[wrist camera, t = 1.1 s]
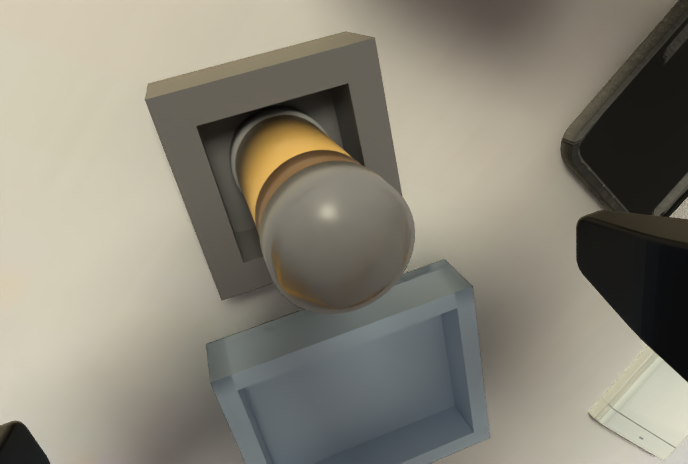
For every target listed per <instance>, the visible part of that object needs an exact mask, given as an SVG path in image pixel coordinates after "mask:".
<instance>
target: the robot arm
mask: <svg viewBox="0 0 688 464" xmlns="http://www.w3.org/2000/svg"><path fill="white" fill-rule="evenodd" d="M576 257H577V264H578V267H579V269H580V271H581V272H582V274H583V275H584V276H585V277H586V278H587V280H588V281H589V282H590V283H591V284H592V285H593V286H594V287H595V289H596V290H597V291H598V292H599V293H600V294H601V295H602V296H603V298H604V299H605V300H606V301H607V302H608V303H609V304H610V305H611V307H612V308H613V309H614V310H615V311H616V312H617V313H618V314H619V316H620V317H621V318H622V319H623V320H624V321H625V322H626V323H627V325H628V326H629V327H630V328H631V329H632V330H633V331H634V332H635V333H636V334H637V335H638V336H639V337H640V339H641V340H643V341H644V342H645V343H646V344H647V345H648V346H649V347H650V348H651V349H652V350H653V351H654V352H655V353H656V354H657V355H658V356H659V357H660V358H662V359H663V360H664V361H665V362H666V363H667V364H668V365H669V366H670V367H671V368H672V369H674V370H675V371H676V372H677V373H678V374H679V375H680V376H681V377H682V378H683V379H684V380H685V381H687V382H688V219H680V218H671V217H662V216H653V215H644V214H635V213H625V212H616V211H607V210H601V211H597V212H594V213H591V214H589V215H586V216H583V217H581V218H580V219H579V220H578V222H577V226H576ZM0 464H50V462H49V460H48V458H47V456H46V455H45V453H44V452H43V450H42V449H41V447H40V446H39V444H38V443H37V441H36V440H35V439H34V437H33V436H32V434H31V433H30V431H29V430H28V428H27V427H26V426H25V425H24V424H23V423H22V422H19V421H11V422H9V423H6V424H3V425H0Z"/></svg>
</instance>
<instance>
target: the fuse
mask: <svg viewBox="0 0 688 464" xmlns="http://www.w3.org/2000/svg"><path fill="white" fill-rule="evenodd" d="M229 162H230V167H231V171H232V174H233V176H234V179H235V181H236V184H237V186H238V188H239V189H240V191H241V192H242V194H243V195H244V196H245V199H246V202H247V204H248V207H249V209H250V212H251V214H252V217H253V220H254V222H255V225H256V228H257V232H258V235H259V237H260V246H261V250H262V254H263V257H264V260H265V262H266V265H267V268H268V270H269V273H270V275H271V278H272V280H273V282H274V284H275V285H276V287H277V289H278V290H279V291H280V292H281V293H282V295H283V296H284V297H286V298H287V299H288V300H289V301H290V302H292V303H293V304H295V305H296V306H298V307H300V308H302V309H305V310H308V311H311V312H315V313H320V314H341V313H347V312H351V311H354V310H358V309H360V308H363V307H365V306H367V305H369V304H371V303H373V302H374V301H376V300H377V299H379V298H380V297H382V296H383V295H384V294H385V293H387V292H388V291H389V290H390V289H391V288H392V287H393V286H394V285H395V284H396V282H397V281H398V280H399V278H400V277H401V276H402V274H403V272H404V271H405V269H406V267H407V265H408V263H409V261H410V258H411V255H412V251H413V247H414V240H415V229H414V221H413V217H412V214H411V211H410V209H409V207H408V205H407V203H406V201H405V200H404V198H403V197H402V196H401V195H400V193H399V192H398V191H397V190H395V189H394V188H393V187H392V186H391V185H390V184H389V183H387V182H386V181H385V180H384V179H383V178H382V177H380V176H379V175H378V174H377V173H375V172H374V171H372V170H371V169H369V168H367V167H365V166H363V165H362V164H360V163H359V162H358V161H357V160H355V159H354V158H352V157H351V156H350V155H349V154H348V153H347V152H346V151H344V150H343V149H342V148H341V147H340V146H339V145H338V144H336V143H335V142H334V141H333V140H332V139H331V138H330V137H329V136H328V135H327V133H326V132H325V130H324V129H323V128H322V127H321V126H320V125H319V124H318V123H317V122H316V121H315V120H313V119H312V118H311V117H310V116H308V115H307V114H306V113H304V112H302V111H300V110H298V109H295V108H292V107H286V106H273V107H268V108H264V109H262V110H259V111H257V112H255V113H253V114H252V115H250V116H249V117H248V118H247V119H245V120H244V121H243V122H242V124H241V125H240V126H239V127H238V129H237V130H236V132H235V134H234V136H233V138H232V141H231V144H230V150H229Z"/></svg>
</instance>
